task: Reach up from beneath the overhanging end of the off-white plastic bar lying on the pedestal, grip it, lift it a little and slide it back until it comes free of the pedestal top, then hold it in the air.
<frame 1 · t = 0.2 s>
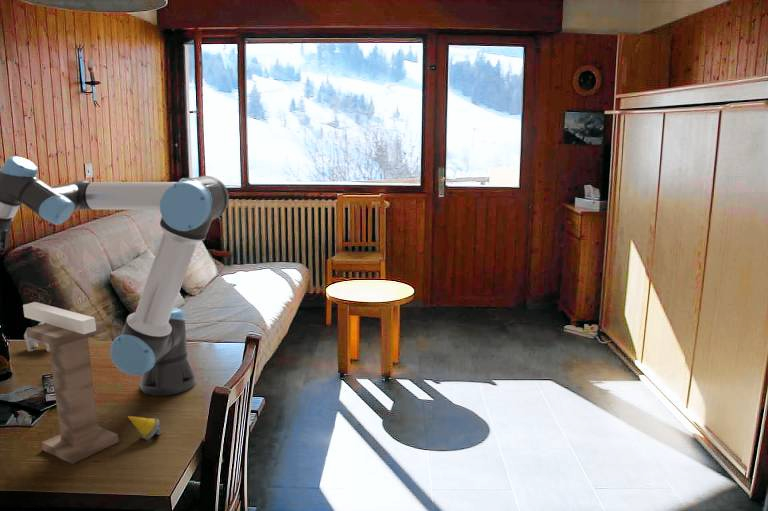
dog figurine: (46, 349, 224), on the table
bar: (59, 323, 153), point 30 cm above the table, touching pedestal
drill bit: (147, 439, 161), on the table
pedestal: (81, 445, 158), on the table
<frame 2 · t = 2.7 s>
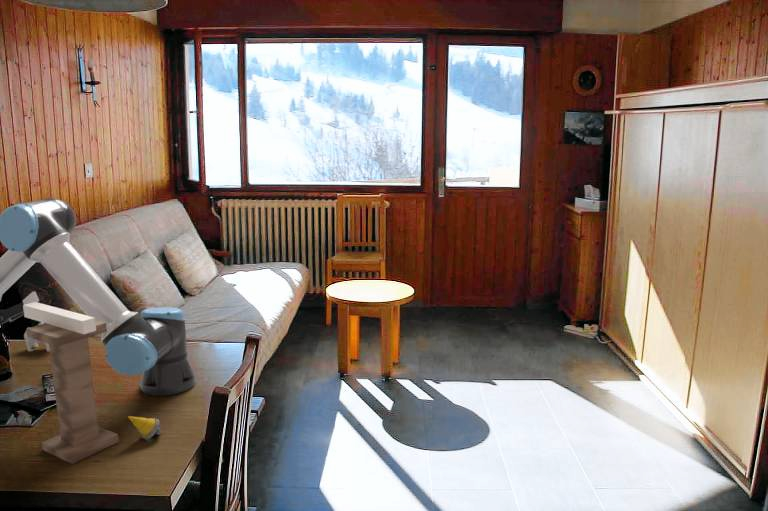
hand: (9, 302, 166), 31 cm above the table, fingers open, 13 cm apart
nothing on the table moved.
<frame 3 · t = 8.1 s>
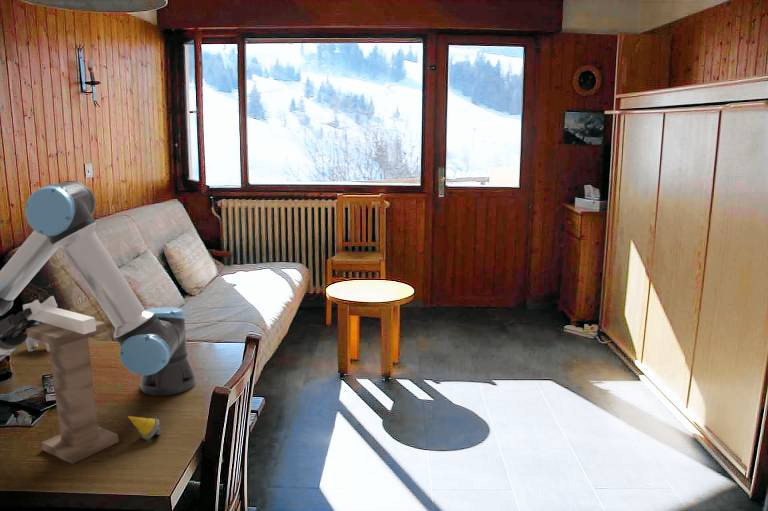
hand: (46, 303, 155), 34 cm above the table, fingers closed on bar, 3 cm apart
bar: (59, 323, 153), point 30 cm above the table, touching gripper, pedestal
everything else where it was.
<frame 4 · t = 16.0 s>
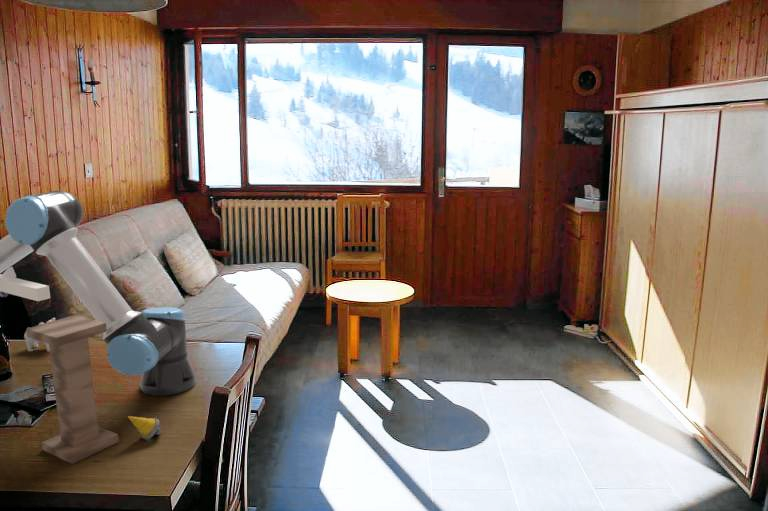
hand: (5, 273, 163), 39 cm above the table, fingers closed on bar, 3 cm apart
bar: (16, 292, 161), point 35 cm above the table, touching gripper
everything else where it was.
at the end: the gripper is holding bar; bar touching gripper; bar moved 17.7 cm from its start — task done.
